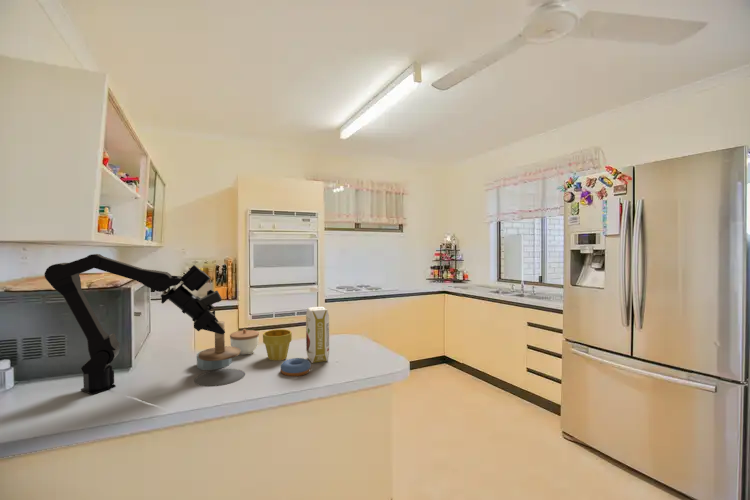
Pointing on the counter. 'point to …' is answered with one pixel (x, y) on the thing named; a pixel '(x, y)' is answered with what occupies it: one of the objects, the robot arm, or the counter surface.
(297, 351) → the counter surface
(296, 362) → the doughnut
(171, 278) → the robot arm
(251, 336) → the lidded jar
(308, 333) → the juice carton
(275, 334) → the plant pot
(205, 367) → the ceramic bowl
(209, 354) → the walnut lid
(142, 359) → the counter surface
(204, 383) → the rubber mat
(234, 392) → the counter surface
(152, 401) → the counter surface
